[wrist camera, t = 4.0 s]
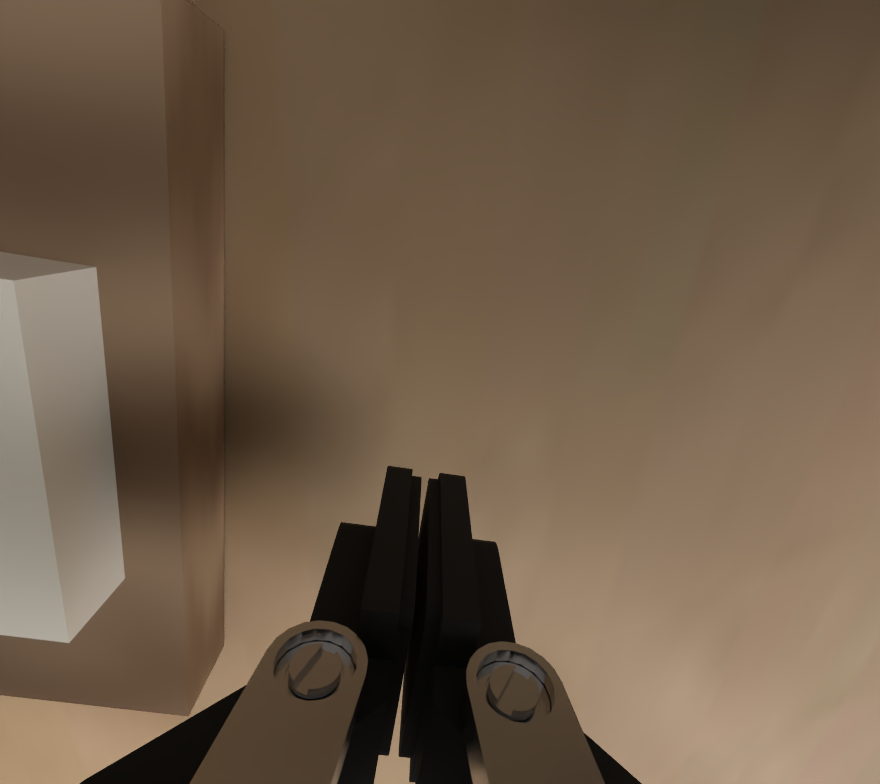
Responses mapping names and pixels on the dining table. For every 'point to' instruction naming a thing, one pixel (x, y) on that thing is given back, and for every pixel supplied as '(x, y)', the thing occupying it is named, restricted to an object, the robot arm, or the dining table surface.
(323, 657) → the robot arm
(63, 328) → the tile
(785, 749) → the dining table surface
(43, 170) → the board
